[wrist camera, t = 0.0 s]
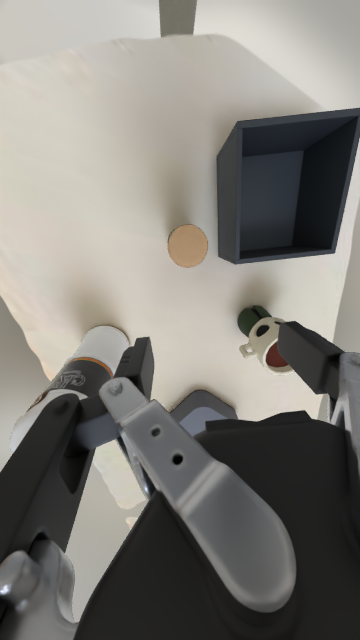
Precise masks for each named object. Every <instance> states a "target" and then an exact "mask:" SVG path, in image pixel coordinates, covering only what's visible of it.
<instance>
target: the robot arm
mask: <svg viewBox="0 0 360 640" xmlns="http://www.w3.org/2000/svg"><path fill="white" fill-rule="evenodd" d="M277 349H278V352H279V354H280V355H281V357H282V358H283V359H284V360H285V361H286V362H287V363H288V364H289V365H290V366H291V367H292V369H293V370H294V371H295V372H296V373H297V374H298V375H299V376H300V377H301V378H302V380H303V381H304V382H305V383H306V384H307V385H308V386H309V387H310V388H311V389H312V390H313V392H314V393H315V394H325V393H328V394H329V397H328V410H327V411H328V412H327V415H328V416H327V422H324V421H320V420H315V419H311V417H310V416H309V415H308V414H307V412H306V411H305V410H304V411H294V412H285V413H279V414H277V415H274V416H272V417H269V418H266V419H264V420H261V421H258V422H255V421H246V420H237V419H221V420H212V421H205V429H206V430H204V431H201V432H199V433H198V434H196V435H195V436H193V437H192V436H191V435H190V434H189V433H188V432H187V431H186V430H185V428H184V427H183V426H182V425H181V424H180V423H179V422H178V421H177V420H176V419H175V418H174V417H173V416H172V415H171V414H170V413H169V412H168V411H167V410H166V409H165V408H164V407H163V406H162V405H161V404H160V403H159V402H158V401H157V400H155V399H153V400H151V401H150V398H151V390H152V382H153V374H154V357H153V352H152V347H151V341H150V338H149V337H142V338H137V339H136V342H135V345H134V346H133V347H128V348H127V349H126V350H125V351H124V352H123V354H122V357H121V359H120V362H119V364H118V367H117V369H116V372H115V374H114V377H113V379H111V380H109V381H107V382H106V383H105V384H104V385H103V386H102V387H101V388H100V390H99V393H98V394H96V395H93V396H90V397H87V398H84V399H81V400H80V399H79V397H78V395H77V394H74V393H67V394H63V395H60V396H58V397H56V398H54V399H53V400H51V401H50V402H49V403H48V404H47V405H46V406H45V407H44V408H43V410H42V411H41V413H40V414H39V416H38V417H37V419H36V420H35V421H34V423H33V424H32V426H31V427H30V429H29V430H28V432H27V433H26V435H25V436H24V438H23V439H22V441H21V442H20V444H19V445H18V447H17V448H16V450H15V451H14V453H13V454H12V456H11V457H10V459H9V460H8V462H7V464H6V465H5V466H4V468H3V469H2V471H1V472H0V640H360V353H355V352H344V351H343V350H341V349H340V348H338V347H337V346H335V345H334V344H332V343H331V342H329V341H327V340H326V339H325V338H323V337H321V335H319V334H318V333H316V332H314V331H312V330H309V329H307V328H305V327H303V326H302V325H300V324H299V323H297V322H296V321H291V322H282V323H281V324H280V326H279V333H278V342H277ZM114 439H115V440H116V442H117V444H118V445H119V447H120V449H121V451H122V453H123V454H124V456H125V458H126V460H127V462H128V463H129V465H130V467H131V469H132V471H133V473H134V475H135V477H136V479H137V482H138V484H139V486H140V488H141V490H142V492H143V494H144V496H145V497H146V499H147V501H148V503H147V505H146V506H145V508H144V510H143V511H142V513H141V515H140V516H139V518H138V519H137V521H136V523H135V524H134V526H133V528H132V529H131V531H130V532H129V534H128V536H127V537H126V539H125V541H124V542H123V544H122V545H121V547H120V549H119V550H118V552H117V554H116V555H115V557H114V559H113V560H112V562H111V564H110V565H109V567H108V568H107V570H106V572H105V573H104V575H103V576H102V578H101V580H100V581H99V583H98V584H97V586H96V588H95V590H94V591H93V593H92V595H91V597H90V599H89V601H88V603H87V605H86V607H85V610H84V612H83V614H82V616H81V619H80V621H79V622H78V623H75V622H74V618H73V614H72V597H73V590H74V582H75V573H74V568H73V565H72V563H71V561H70V560H69V559H68V557H67V556H66V555H65V551H66V548H67V544H68V541H69V538H70V534H71V531H72V527H73V524H74V521H75V517H76V514H77V510H78V507H79V503H80V500H81V497H82V493H83V490H84V487H85V483H86V480H87V476H88V473H89V470H90V466H91V463H92V459H93V456H94V453H95V449H96V447H98V446H100V445H103V444H105V443H107V442H110V441H112V440H114Z"/></svg>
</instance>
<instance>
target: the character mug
mask: <svg viewBox="0 0 360 640" xmlns="http://www.w3.org/2000/svg"><path fill="white" fill-rule="evenodd" d="M253 307H254V308H255V309H256V310H252V311H251V310H250V309H249V308H246V309H245V310H244V311H243V312H241V314H240V316H239V318H238V326H239V328H240V330H241V332H242V333H243V334H244V335H246V336H247V337H248V338H249V343H248V344H245V345H242V346H240V348H239V350H240V351H241V353H242V355H243V356H244V358H245V359H253V358H256V357H257V358H258V360H259V361H260V362H261V364H262V365H263V367H264V368H265V369H266V370H268V371H269V372H270V373H272V374H276V375H288V374H291V373H293V372H295V371H294V370H293V369H292V367H291V366H290V365H289V364H288V363H287V362H286V361H285V360H284V359H283V358H282V357H281V355H280V354H279V352H278V349H277V342H278V333H279V326H280V324H281V323H282V322H286V321H284V320H282V319H279V318H274V317H272V316H271V315H270V314H269V313H268V312H267V311H266V310H265V309H264V308H262V307H260V306H253ZM249 349H251V350H252V351H253V352H250V353H248V352H247V350H249Z"/></svg>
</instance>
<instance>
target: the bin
mask: <svg viewBox="0 0 360 640" xmlns="http://www.w3.org/2000/svg"><path fill="white" fill-rule="evenodd" d="M359 138H360V108H354V109H345V110H335V111H326V112H317V113H308V114H299V115H290V116H281V117H272V118H263V119H254V120H245V121H237V123H236V125H235V126H234V128H233V130H232V131H231V133H230V135H229V137H228V138H227V140H226V142H225V143H224V145H223V147H222V149H221V150H220V152H219V154H218V155H217V199H218V253H219V257H220V258H222V259H224V260H227V261H229V262H231V263H233V264H243V263H252V262H261V261H270V260H279V259H289V258H298V257H307V256H316V255H325V254H334V253H335V250H336V246H337V241H338V236H339V232H340V227H341V222H342V218H343V213H344V208H345V204H346V199H347V194H348V190H349V185H350V180H351V176H352V171H353V166H354V162H355V157H356V152H357V147H358V143H359Z"/></svg>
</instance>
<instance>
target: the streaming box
mask: <svg viewBox="0 0 360 640" xmlns="http://www.w3.org/2000/svg"><path fill="white" fill-rule="evenodd" d="M170 414H171V415H172V416H173V417H174V418H175V419H176V420H177V421H178V422H179V423H180V424H181V425H182V426H183V427H184V428H185V430H186V431H187V432H188V433H189V434H190V435H191V436H192V437H193V436H195V435H196V434H198V433H199V432H201V431H204V430H206V429H205V421H212V420H221V419H237V420H238V417H237V415H236V412H235V410H234V409H233V408H232V407H230V406H228V405H227V404H225V403H224V402H222V401H221V400H219V399H217V398H216V397H214V396H213V395H211V394H210V393H208V392H206V391H195V392H193V393H192V394H190V395H189V396H188V397H187V398H186V399H185V400H184V401H183V402H182V403H181V404H180V405H178V406H177V407H176V408H175V409H174V410H173V411H172V412H171V413H170Z"/></svg>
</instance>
